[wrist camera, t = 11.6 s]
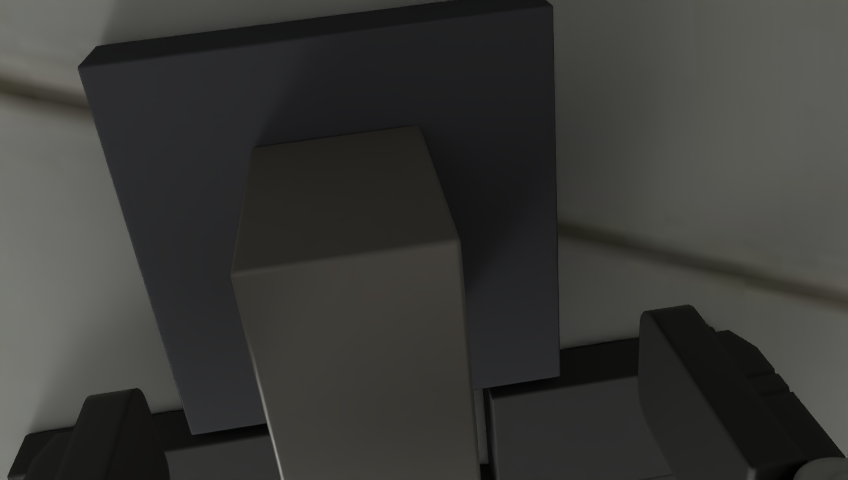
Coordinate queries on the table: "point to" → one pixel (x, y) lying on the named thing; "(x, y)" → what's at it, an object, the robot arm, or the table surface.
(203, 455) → the base pad
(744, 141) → the table surface
